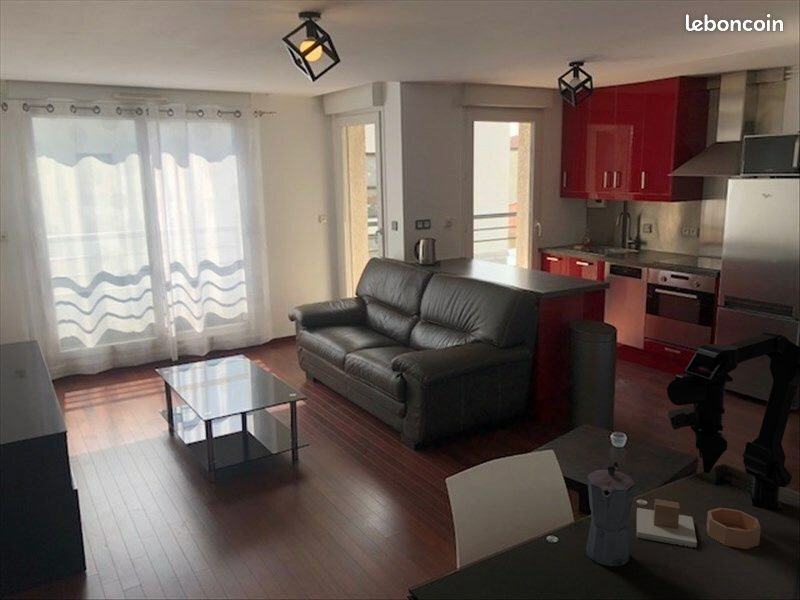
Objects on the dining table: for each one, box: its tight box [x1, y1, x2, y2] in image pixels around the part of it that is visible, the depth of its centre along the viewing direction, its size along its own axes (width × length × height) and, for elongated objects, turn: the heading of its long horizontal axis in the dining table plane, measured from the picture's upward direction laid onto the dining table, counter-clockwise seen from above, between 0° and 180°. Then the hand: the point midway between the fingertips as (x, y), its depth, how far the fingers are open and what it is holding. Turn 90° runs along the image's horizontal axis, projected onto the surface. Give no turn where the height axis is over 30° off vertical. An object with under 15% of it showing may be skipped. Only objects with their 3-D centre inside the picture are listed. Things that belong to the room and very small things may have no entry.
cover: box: [636, 498, 698, 547], centre depth 142 cm, size 12×12×6 cm
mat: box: [636, 534, 697, 549], centre depth 143 cm, size 12×12×1 cm
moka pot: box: [585, 462, 637, 567], centre depth 131 cm, size 10×15×20 cm, turn 158°
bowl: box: [706, 507, 762, 550], centre depth 140 cm, size 10×10×4 cm
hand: (704, 464), depth 147 cm, fingers open, 9 cm apart
